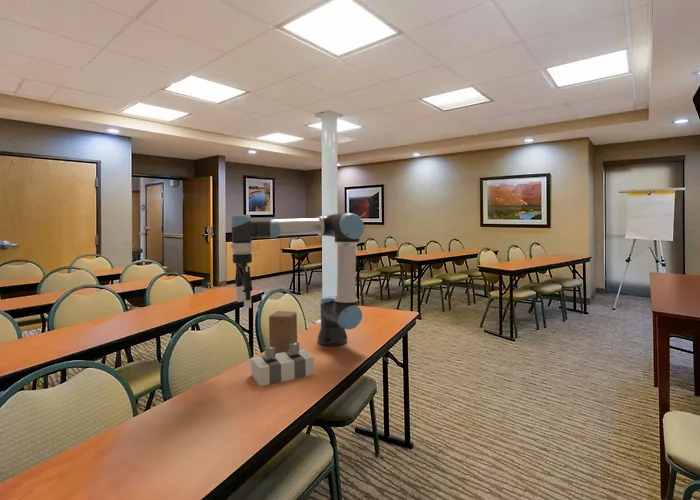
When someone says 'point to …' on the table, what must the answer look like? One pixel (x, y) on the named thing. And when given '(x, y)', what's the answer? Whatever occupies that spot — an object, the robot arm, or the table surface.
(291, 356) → the peg
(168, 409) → the table surface
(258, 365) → the socket board
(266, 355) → the peg
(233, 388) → the table surface
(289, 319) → the wooden block
